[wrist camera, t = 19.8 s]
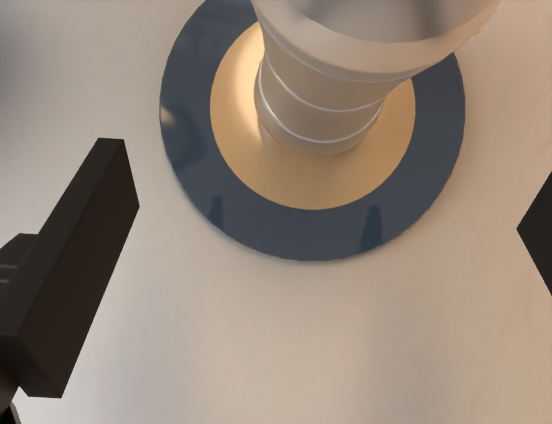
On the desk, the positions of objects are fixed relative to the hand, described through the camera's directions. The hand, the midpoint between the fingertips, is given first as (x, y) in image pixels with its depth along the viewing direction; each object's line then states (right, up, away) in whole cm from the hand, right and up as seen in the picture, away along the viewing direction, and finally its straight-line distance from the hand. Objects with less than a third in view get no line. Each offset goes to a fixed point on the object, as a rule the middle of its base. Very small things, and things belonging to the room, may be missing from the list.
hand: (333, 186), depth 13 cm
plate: (0, +5, +12) cm, 14 cm away
